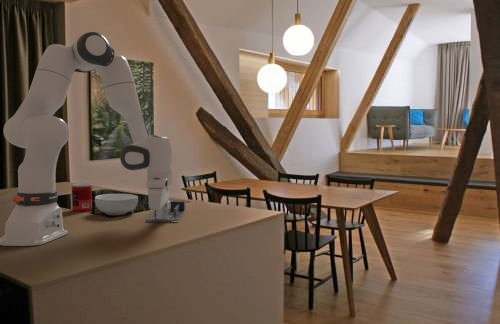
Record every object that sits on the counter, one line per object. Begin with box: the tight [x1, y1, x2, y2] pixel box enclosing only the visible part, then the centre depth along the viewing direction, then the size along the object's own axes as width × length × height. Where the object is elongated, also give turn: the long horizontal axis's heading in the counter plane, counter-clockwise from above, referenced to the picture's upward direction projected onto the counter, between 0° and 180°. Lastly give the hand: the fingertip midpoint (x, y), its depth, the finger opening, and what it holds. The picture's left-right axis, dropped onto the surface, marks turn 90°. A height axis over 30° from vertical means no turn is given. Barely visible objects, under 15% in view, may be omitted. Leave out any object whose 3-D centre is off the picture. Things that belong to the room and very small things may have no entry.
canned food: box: [71, 182, 93, 213], centre depth 195 cm, size 8×8×11 cm
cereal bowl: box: [94, 193, 139, 216], centre depth 189 cm, size 17×17×7 cm
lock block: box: [156, 199, 172, 219], centre depth 177 cm, size 7×4×7 cm, turn 0°
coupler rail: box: [145, 200, 186, 223], centre depth 185 cm, size 22×12×4 cm, turn 1°
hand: (159, 217), depth 169 cm, fingers closed
